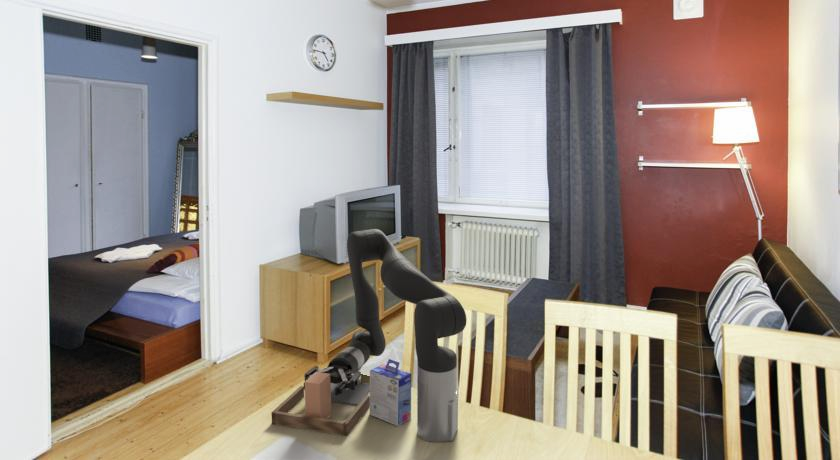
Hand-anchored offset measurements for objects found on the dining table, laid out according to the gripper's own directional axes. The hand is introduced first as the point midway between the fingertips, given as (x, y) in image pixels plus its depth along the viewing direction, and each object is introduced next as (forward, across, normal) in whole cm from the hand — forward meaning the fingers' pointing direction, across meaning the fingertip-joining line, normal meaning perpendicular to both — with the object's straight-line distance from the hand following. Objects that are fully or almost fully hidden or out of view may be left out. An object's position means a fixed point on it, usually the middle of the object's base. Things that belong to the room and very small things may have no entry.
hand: (320, 389), depth 140 cm
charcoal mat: (-14, 0, +7) cm, 15 cm away
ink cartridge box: (-4, +17, +7) cm, 19 cm away
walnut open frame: (0, 0, +7) cm, 7 cm away
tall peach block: (+2, 0, +7) cm, 7 cm away
